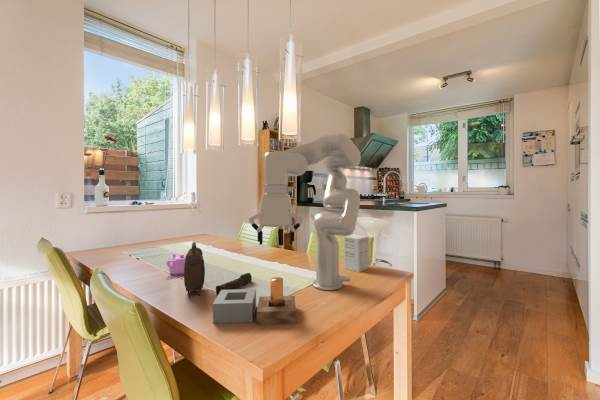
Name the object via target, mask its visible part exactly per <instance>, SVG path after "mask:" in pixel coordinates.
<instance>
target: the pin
mask: <svg viewBox="0 0 600 400" xmlns="http://www.w3.org/2000/svg"><path fill="white" fill-rule="evenodd" d="M270 296H271V307H282V306H283V296H284V278H283V277H279V276H278V277H277V276H275V277H271V278H270Z"/></svg>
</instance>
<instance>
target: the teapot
mask: <svg viewBox="0 0 600 400" xmlns="http://www.w3.org/2000/svg"><path fill="white" fill-rule="evenodd" d="M185 257H186V255H185V254H184V253H183V254H179V255H178V256H177V255H176V253H174V252H172V260H171V259H168V260H167V261H166V265H167V267H168V269H169V270H168V271H169V273H171V275H175V276H183V275H182V274H184V264H185Z"/></svg>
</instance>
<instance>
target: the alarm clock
mask: <svg viewBox="0 0 600 400" xmlns="http://www.w3.org/2000/svg"><path fill="white" fill-rule="evenodd" d="M185 256H186V257H185V264H184V275H183V284H184V287H185V291H186V292H187V296H190V292H197V296H200V293H201V292H200V291H202V289H203V288H204V284H205V276H206V269H205V259H204V256H203V250H202V249H201V248H199V247H197V242H196V241H192V244H191V248H189V250H187V253H186V255H185Z"/></svg>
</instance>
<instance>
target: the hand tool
mask: <svg viewBox="0 0 600 400" xmlns="http://www.w3.org/2000/svg"><path fill="white" fill-rule="evenodd" d="M251 274H252V273H250V272H246V273H243V274H241V275H240V276H239V278H236V279H233V280H230V281H228V282H225V283H223V284H220V285H216V287H215V293H216V295H217V296H218V295H219V293H220V291H221V290H236V289H238V288H239V287H243V286H244V287H245V286H247V285H249V284H250V283H252V280H253V279H252V278H253V277H252V275H251Z"/></svg>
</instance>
